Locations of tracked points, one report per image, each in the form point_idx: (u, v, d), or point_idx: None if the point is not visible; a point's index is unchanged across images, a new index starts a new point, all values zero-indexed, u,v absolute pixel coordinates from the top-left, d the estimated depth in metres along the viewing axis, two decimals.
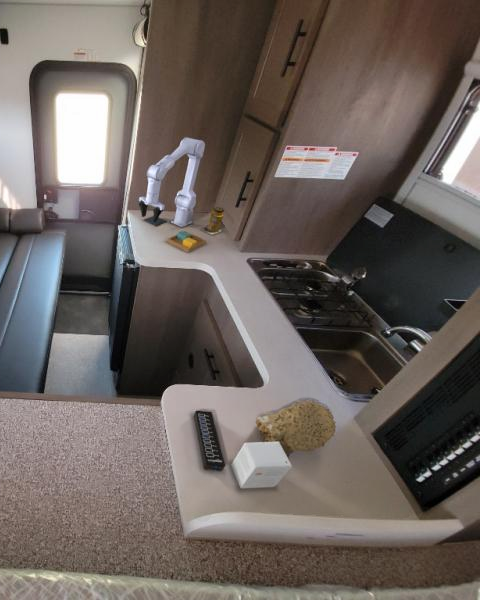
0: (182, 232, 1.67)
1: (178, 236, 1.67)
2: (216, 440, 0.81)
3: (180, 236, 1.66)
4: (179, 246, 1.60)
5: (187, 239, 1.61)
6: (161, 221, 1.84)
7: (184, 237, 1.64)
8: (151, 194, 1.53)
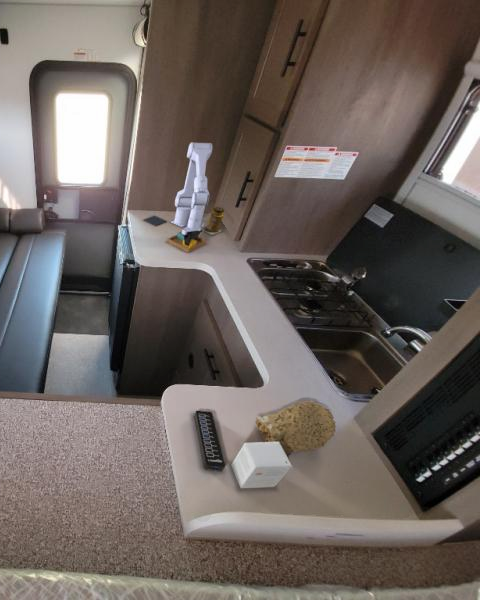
0: None
1: (178, 236, 1.67)
2: (216, 440, 0.81)
3: (180, 236, 1.66)
4: (179, 246, 1.60)
5: None
6: (161, 221, 1.84)
7: None
8: (201, 219, 1.52)
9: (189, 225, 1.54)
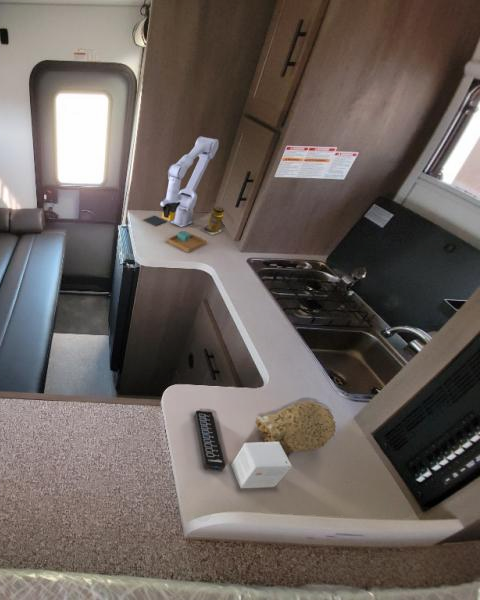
0: (182, 232, 1.67)
1: (178, 236, 1.67)
2: (216, 440, 0.81)
3: (180, 236, 1.66)
4: (179, 246, 1.60)
5: None
6: (161, 221, 1.84)
7: (184, 237, 1.64)
8: (178, 191, 1.61)
9: (167, 197, 1.63)
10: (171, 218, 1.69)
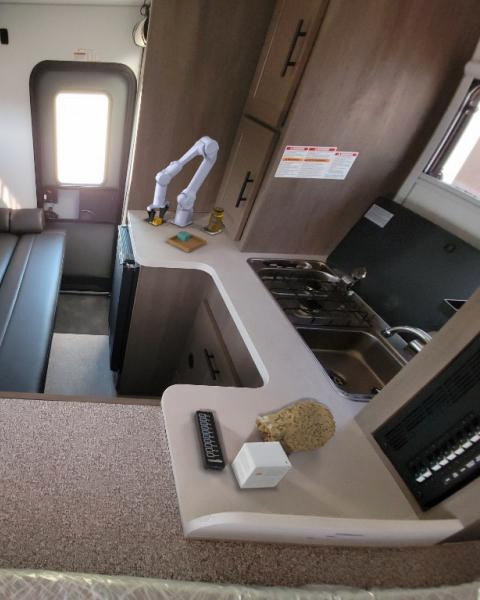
0: (182, 232, 1.67)
1: (178, 236, 1.67)
2: (216, 440, 0.81)
3: (180, 236, 1.66)
4: (179, 246, 1.60)
5: (154, 217, 1.81)
6: None
7: (184, 237, 1.64)
8: (164, 197, 1.71)
9: (154, 202, 1.74)
10: (158, 223, 1.79)
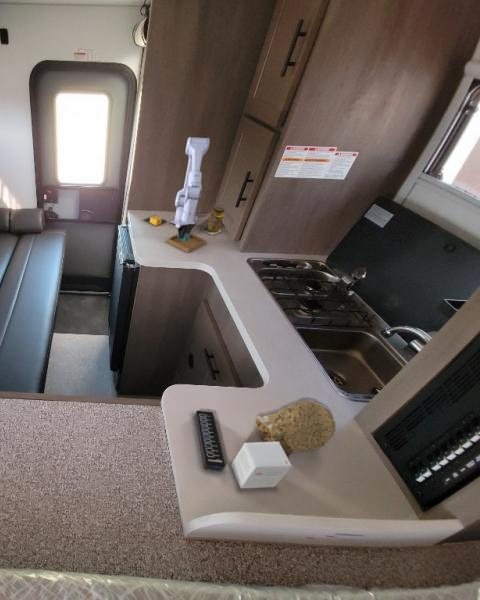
0: None
1: (178, 236, 1.67)
2: (217, 440, 0.81)
3: None
4: (179, 246, 1.60)
5: (154, 217, 1.81)
6: None
7: (184, 237, 1.64)
8: None
9: (183, 219, 1.59)
10: (158, 223, 1.79)
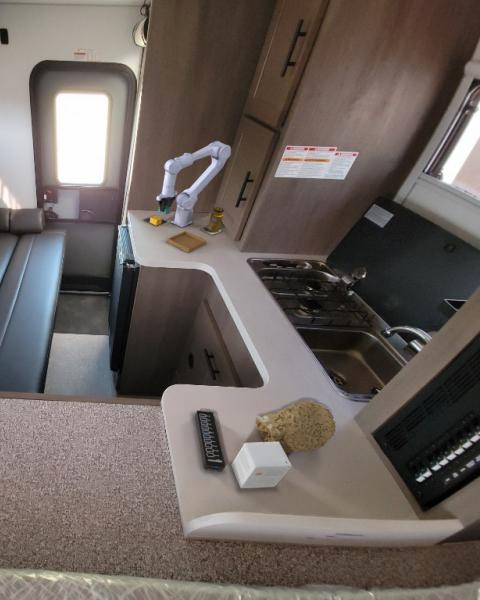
0: None
1: (159, 209, 1.76)
2: (217, 440, 0.81)
3: None
4: (179, 246, 1.60)
5: (154, 217, 1.81)
6: None
7: (165, 210, 1.73)
8: None
9: (163, 192, 1.69)
10: (158, 223, 1.79)
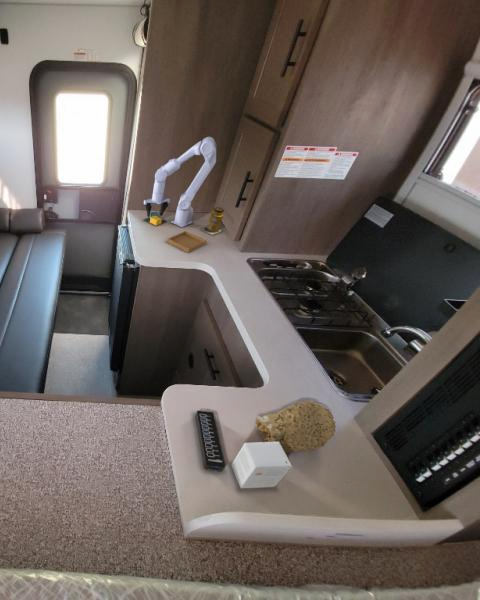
0: (154, 212, 1.86)
1: (150, 215, 1.87)
2: (217, 440, 0.81)
3: (150, 215, 1.86)
4: (179, 246, 1.60)
5: (154, 217, 1.81)
6: None
7: (152, 216, 1.83)
8: (162, 193, 1.75)
9: (152, 197, 1.79)
10: (158, 223, 1.79)
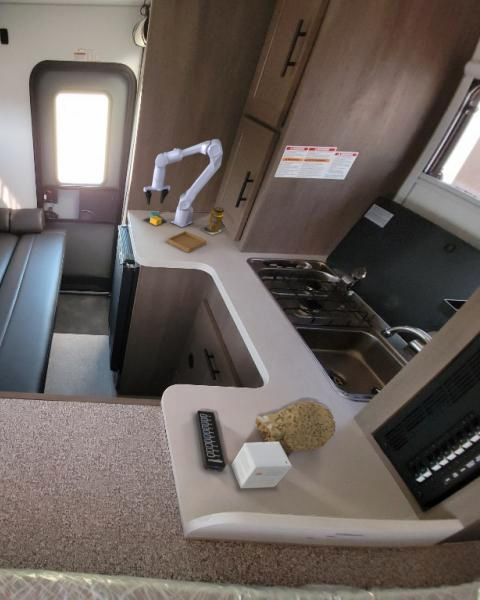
0: (154, 212, 1.86)
1: (150, 215, 1.87)
2: (217, 440, 0.81)
3: (150, 215, 1.86)
4: (179, 246, 1.60)
5: (154, 217, 1.81)
6: None
7: (152, 216, 1.83)
8: (162, 180, 1.71)
9: (152, 184, 1.74)
10: (158, 223, 1.79)
